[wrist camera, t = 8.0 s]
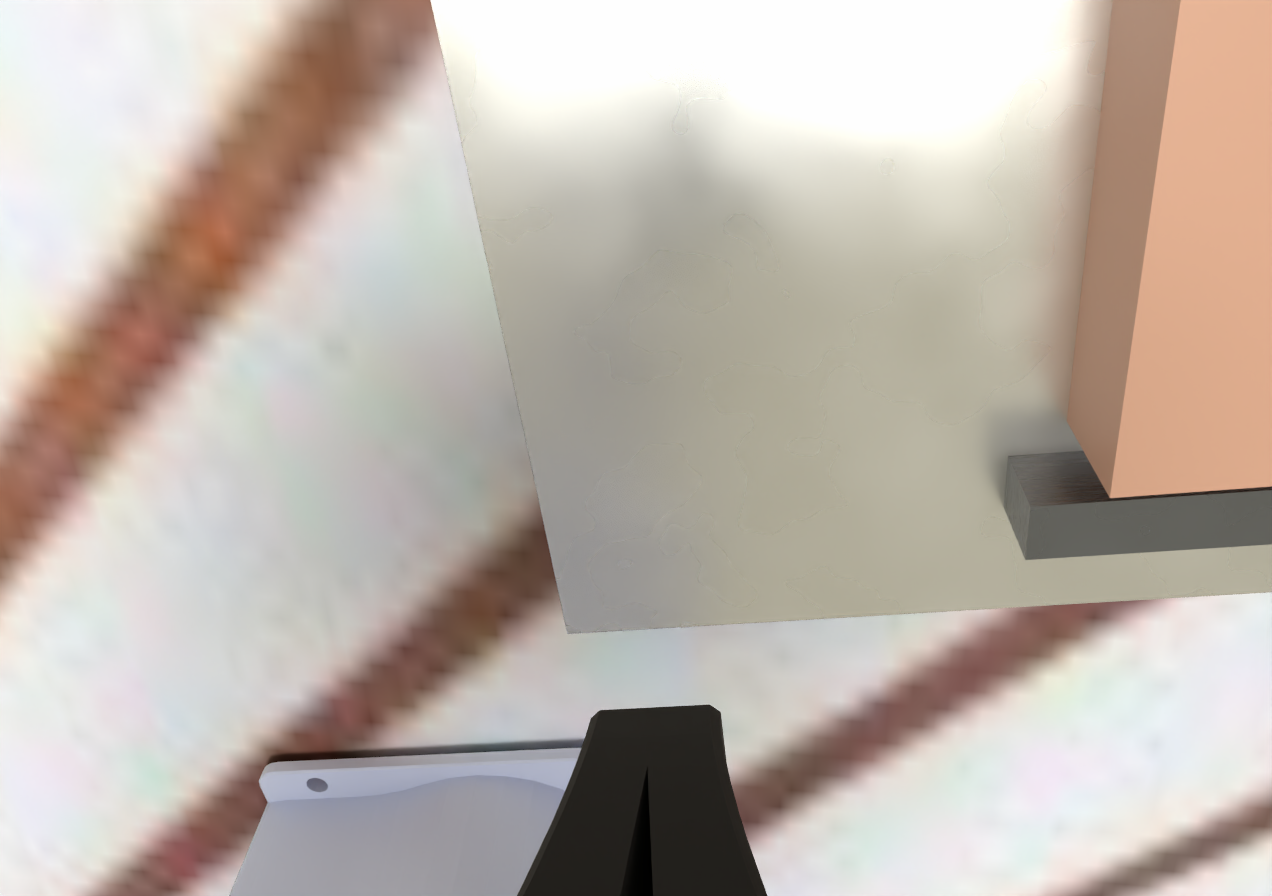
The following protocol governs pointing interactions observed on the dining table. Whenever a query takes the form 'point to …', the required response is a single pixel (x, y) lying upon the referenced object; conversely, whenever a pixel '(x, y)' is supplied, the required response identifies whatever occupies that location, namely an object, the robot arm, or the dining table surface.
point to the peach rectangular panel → (1179, 254)
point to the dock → (809, 308)
